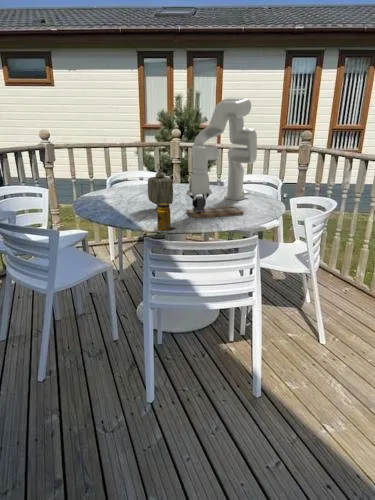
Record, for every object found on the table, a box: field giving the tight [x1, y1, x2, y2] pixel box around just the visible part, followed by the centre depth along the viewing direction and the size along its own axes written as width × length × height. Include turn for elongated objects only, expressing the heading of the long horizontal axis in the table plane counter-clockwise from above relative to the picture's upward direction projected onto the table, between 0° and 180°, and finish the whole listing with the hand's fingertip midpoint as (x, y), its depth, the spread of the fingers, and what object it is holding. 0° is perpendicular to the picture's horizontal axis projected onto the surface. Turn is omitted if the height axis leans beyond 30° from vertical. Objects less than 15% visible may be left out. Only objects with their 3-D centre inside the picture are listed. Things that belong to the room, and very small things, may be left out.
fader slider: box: [192, 195, 205, 213], centre depth 187 cm, size 5×6×7 cm
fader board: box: [185, 205, 244, 219], centre depth 191 cm, size 28×12×2 cm, turn 108°
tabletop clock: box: [147, 163, 174, 211], centre depth 193 cm, size 14×9×25 cm, turn 28°
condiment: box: [154, 203, 177, 233], centre depth 164 cm, size 7×8×12 cm
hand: (199, 206), depth 187 cm, fingers closed on fader slider, 4 cm apart
